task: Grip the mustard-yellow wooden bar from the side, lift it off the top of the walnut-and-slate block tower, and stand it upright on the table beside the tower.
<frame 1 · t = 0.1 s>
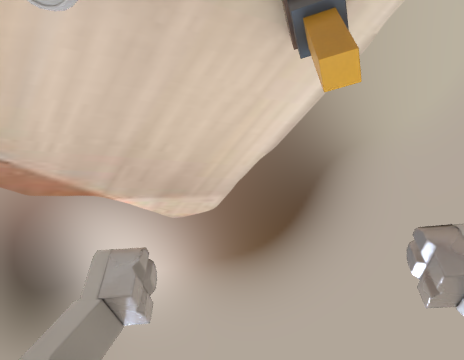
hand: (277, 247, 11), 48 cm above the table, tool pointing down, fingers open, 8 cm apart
tower: (310, 2, 51), on the table
bar: (321, 28, 45), point 9 cm above the table, touching tower
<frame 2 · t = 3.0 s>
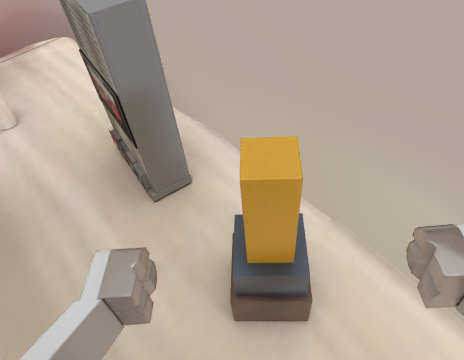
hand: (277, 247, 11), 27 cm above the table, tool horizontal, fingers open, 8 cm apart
tower: (269, 286, 39), on the table
bar: (269, 243, 32), point 9 cm above the table, touching tower
tall grey box: (152, 165, 53), on the table
milkshake: (6, 125, 62), on the table
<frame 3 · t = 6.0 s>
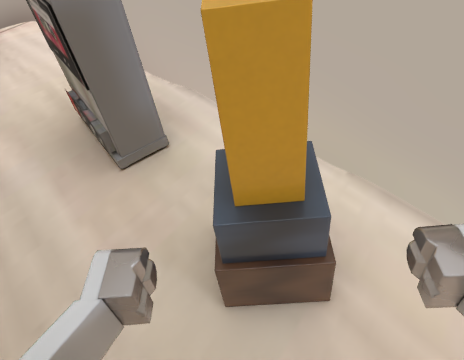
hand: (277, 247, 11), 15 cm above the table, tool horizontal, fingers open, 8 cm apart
tower: (272, 258, 28), on the table
bar: (266, 179, 22), point 9 cm above the table, touching tower
tall grey box: (121, 132, 43), on the table
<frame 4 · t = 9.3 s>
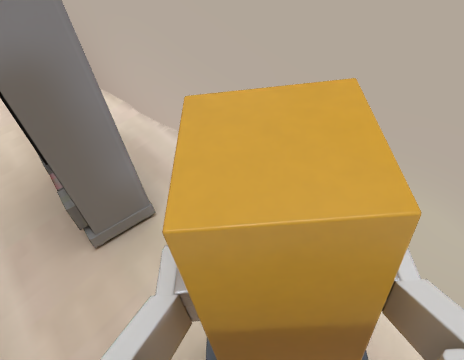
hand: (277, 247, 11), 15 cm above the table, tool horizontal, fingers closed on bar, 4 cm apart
bar: (284, 348, 15), point 9 cm above the table, touching gripper, tower
tall grey box: (99, 191, 36), on the table
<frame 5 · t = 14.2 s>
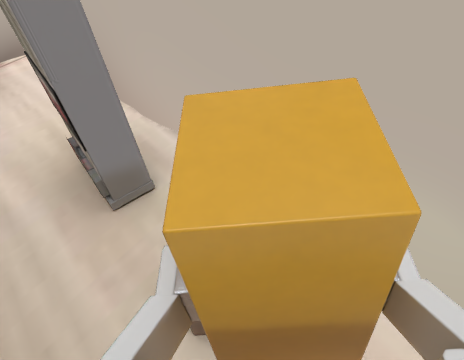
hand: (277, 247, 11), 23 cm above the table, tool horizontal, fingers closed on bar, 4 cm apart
bar: (283, 348, 15), point 17 cm above the table, touching gripper
tall grey box: (114, 173, 50), on the table
when the fingers open (6 cm above the table, at t = 19.2 s): bar stays where it is, on the table.
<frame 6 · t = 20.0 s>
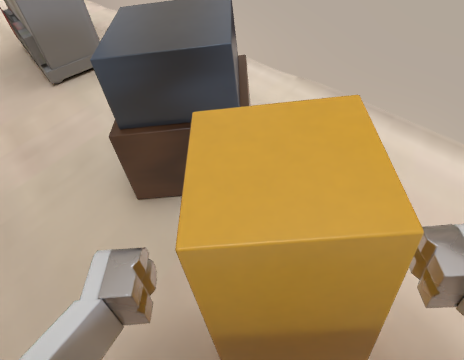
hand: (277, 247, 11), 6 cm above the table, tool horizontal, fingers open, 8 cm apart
tower: (199, 154, 25), on the table
bar: (287, 353, 15), on the table
tall grey box: (62, 55, 39), on the table
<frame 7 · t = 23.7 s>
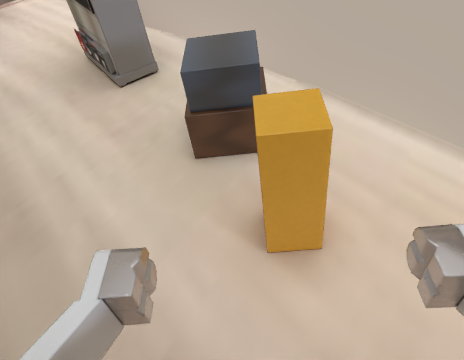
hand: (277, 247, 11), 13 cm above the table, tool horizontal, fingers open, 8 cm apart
tower: (232, 131, 37), on the table
bar: (291, 229, 28), on the table
tall grey box: (120, 65, 53), on the table
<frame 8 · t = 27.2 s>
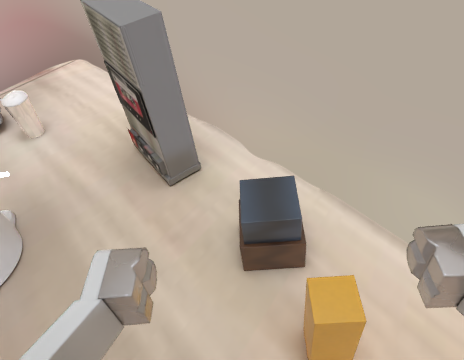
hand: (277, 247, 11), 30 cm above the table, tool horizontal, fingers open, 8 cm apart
tower: (271, 243, 47), on the table
bar: (325, 347, 37), on the table
tall grey box: (165, 158, 61), on the table
milkshake: (35, 134, 71), on the table
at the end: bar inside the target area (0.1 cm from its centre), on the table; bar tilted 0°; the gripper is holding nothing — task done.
